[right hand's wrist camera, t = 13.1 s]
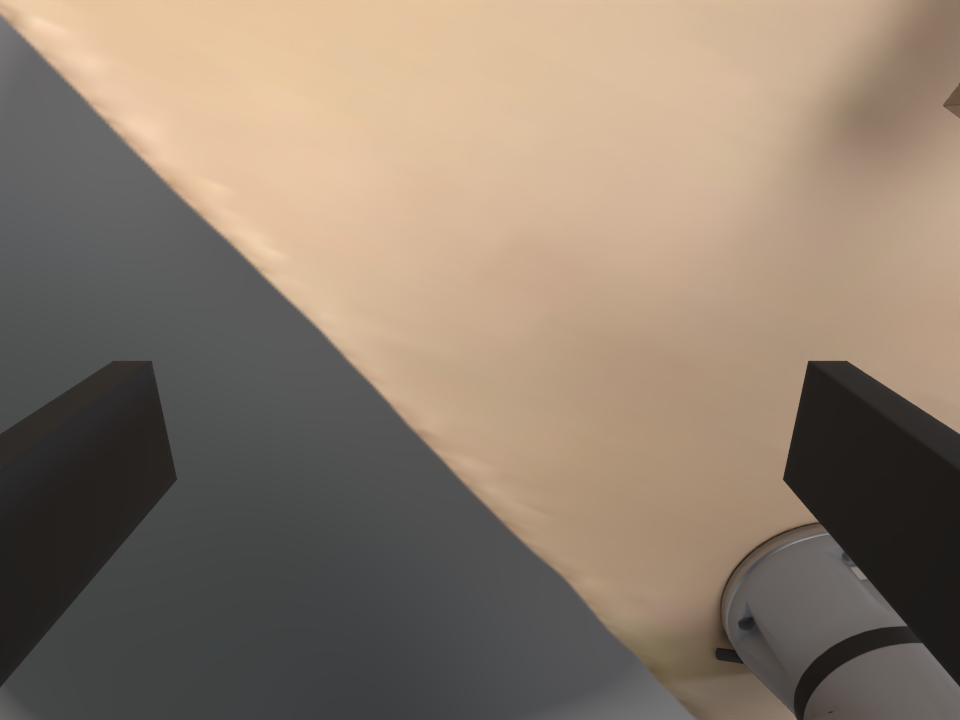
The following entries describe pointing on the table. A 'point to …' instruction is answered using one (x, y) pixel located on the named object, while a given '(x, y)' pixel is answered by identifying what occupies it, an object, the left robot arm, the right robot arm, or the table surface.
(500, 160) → the table surface
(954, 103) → the bar
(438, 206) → the table surface
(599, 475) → the table surface
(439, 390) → the table surface
